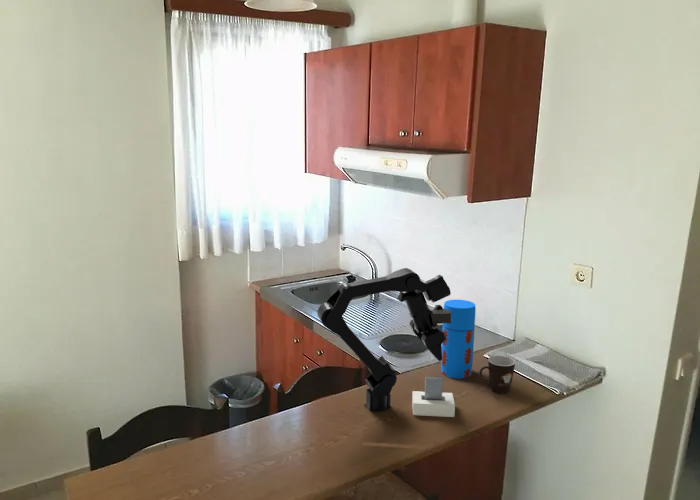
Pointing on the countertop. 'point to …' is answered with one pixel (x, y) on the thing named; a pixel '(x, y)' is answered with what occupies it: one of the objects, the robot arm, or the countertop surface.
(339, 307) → the robot arm
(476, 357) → the countertop surface
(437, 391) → the grey rectangular block
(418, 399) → the slot box
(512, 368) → the coffee mug
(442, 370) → the thermos
